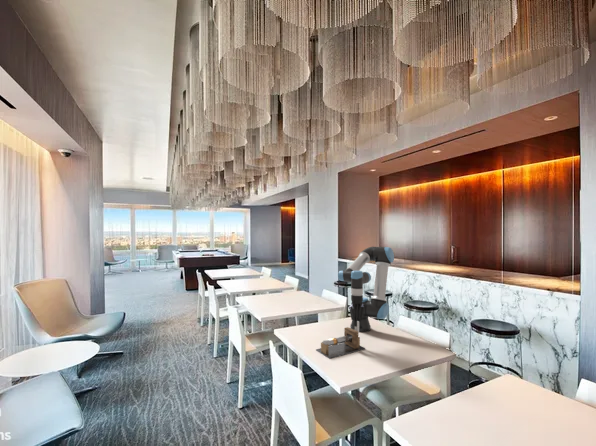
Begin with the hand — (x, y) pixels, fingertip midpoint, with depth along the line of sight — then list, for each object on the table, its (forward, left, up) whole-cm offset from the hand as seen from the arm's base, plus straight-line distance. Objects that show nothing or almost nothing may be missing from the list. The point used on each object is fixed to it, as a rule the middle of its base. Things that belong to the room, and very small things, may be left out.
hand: (356, 331), depth 190 cm
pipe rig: (+13, 0, -9) cm, 16 cm away
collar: (+5, 0, -8) cm, 10 cm away
